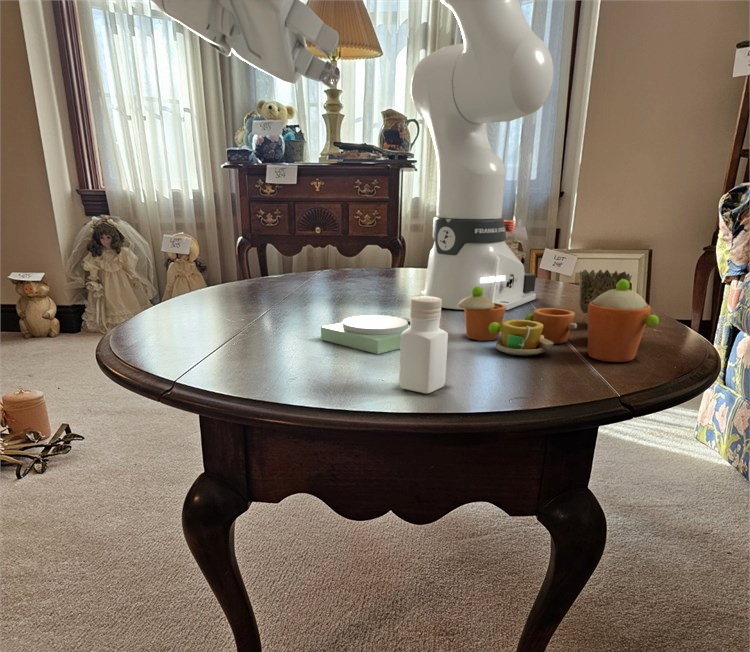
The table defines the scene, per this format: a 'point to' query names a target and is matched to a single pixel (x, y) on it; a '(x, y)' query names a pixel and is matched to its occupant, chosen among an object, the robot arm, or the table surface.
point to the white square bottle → (423, 347)
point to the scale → (368, 332)
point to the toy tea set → (564, 325)
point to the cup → (597, 285)
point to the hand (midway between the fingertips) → (337, 64)
